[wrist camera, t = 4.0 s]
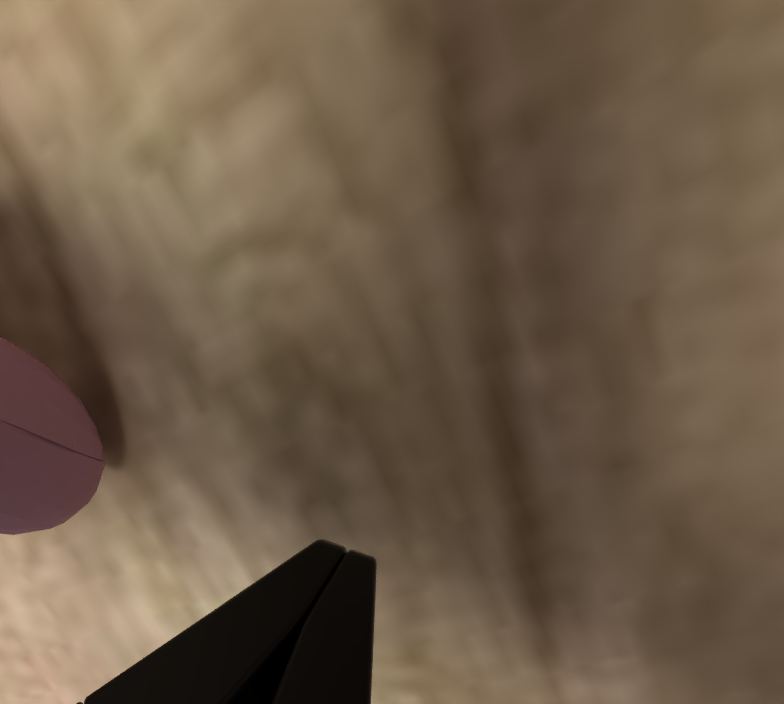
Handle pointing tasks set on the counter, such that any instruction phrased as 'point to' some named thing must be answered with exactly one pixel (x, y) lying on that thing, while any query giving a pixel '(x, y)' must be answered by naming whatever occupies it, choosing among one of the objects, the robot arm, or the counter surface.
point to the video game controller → (42, 446)
